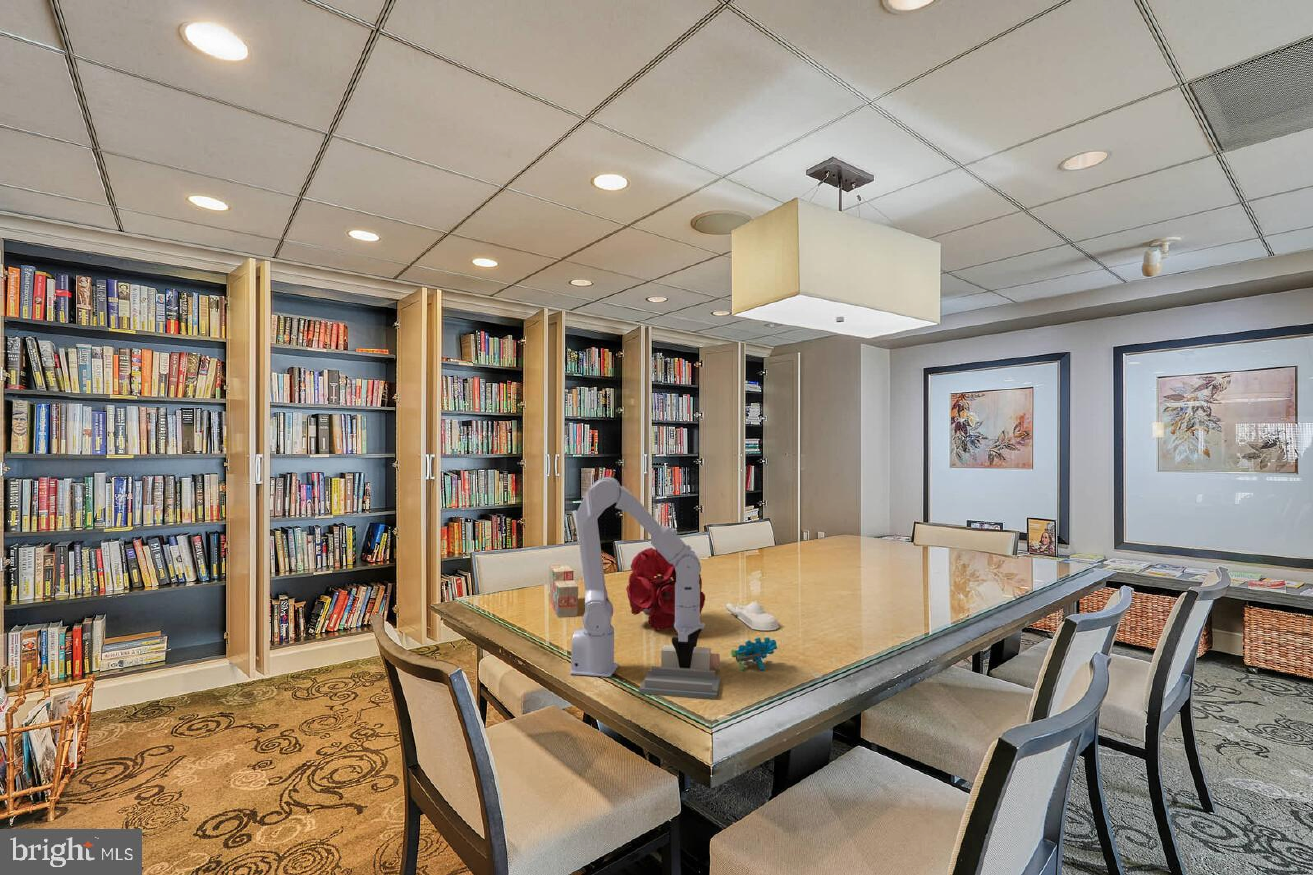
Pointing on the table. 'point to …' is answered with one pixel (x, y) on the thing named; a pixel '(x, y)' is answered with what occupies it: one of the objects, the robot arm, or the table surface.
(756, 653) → the blue brick toy animal
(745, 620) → the white domed paddle shape
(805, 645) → the table surface
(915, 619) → the table surface
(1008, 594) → the table surface
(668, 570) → the bouquet
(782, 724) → the table surface
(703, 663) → the cream rectangular bar
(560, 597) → the stack of blocks
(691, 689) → the cradle
